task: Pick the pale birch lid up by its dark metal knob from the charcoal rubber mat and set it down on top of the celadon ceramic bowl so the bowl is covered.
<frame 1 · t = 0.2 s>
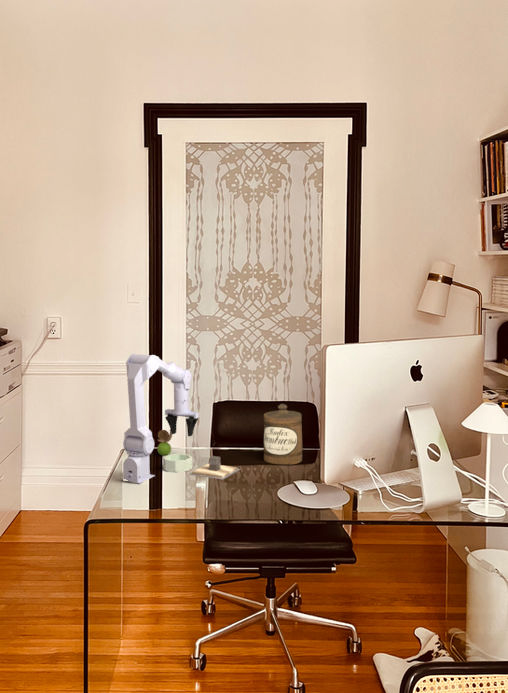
hand: (182, 434, 275), 10 cm above the table, fingers open, 7 cm apart
mat: (214, 473, 258), on the table
snail figurine: (165, 456, 282), on the table
bowl: (177, 469, 263), on the table
wooden container: (282, 460, 275), on the table
lid: (214, 471, 258), resting on mat
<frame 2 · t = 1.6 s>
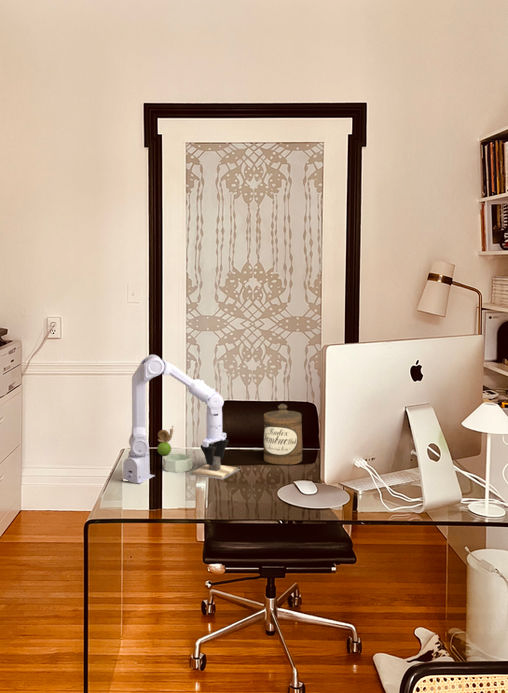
hand: (215, 461, 258), 4 cm above the table, fingers open, 7 cm apart
nothing on the table moved.
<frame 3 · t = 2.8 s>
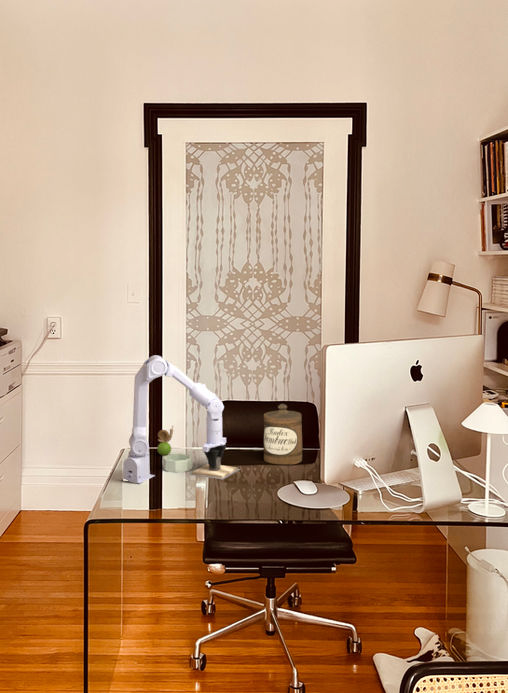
hand: (214, 466, 258), 2 cm above the table, fingers closed on lid, 3 cm apart
lid: (214, 471, 258), resting on mat, touching gripper
everything else where it was.
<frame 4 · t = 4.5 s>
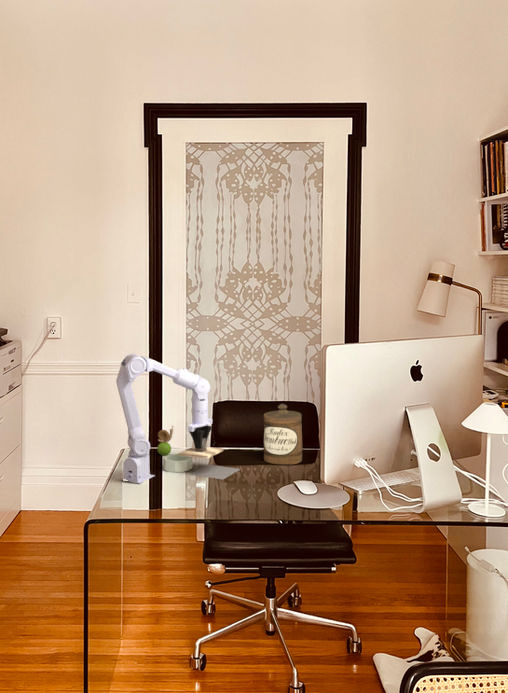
hand: (200, 447, 259), 9 cm above the table, fingers closed on lid, 3 cm apart
lid: (201, 453, 259), point 7 cm above the table, touching gripper
everything else where it was.
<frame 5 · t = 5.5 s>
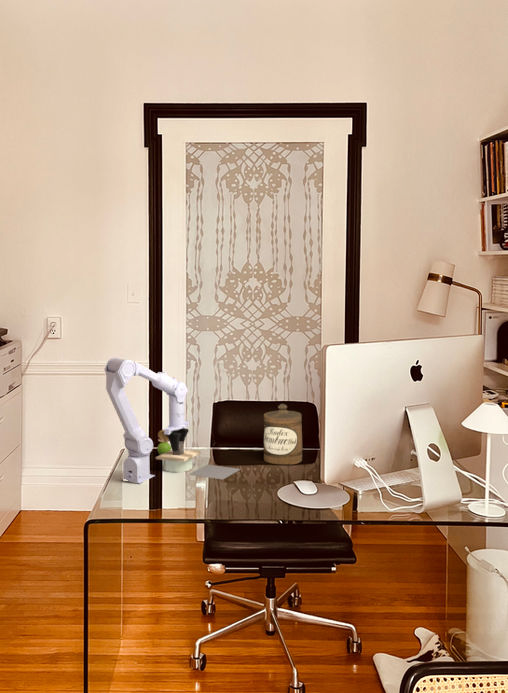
hand: (177, 449, 262), 7 cm above the table, fingers closed on lid, 3 cm apart
lid: (178, 456, 262), point 5 cm above the table, touching gripper
everything else where it was.
when the fingers open (7 cm above the table, at t = 6.1 s): lid stays where it is, resting on bowl.
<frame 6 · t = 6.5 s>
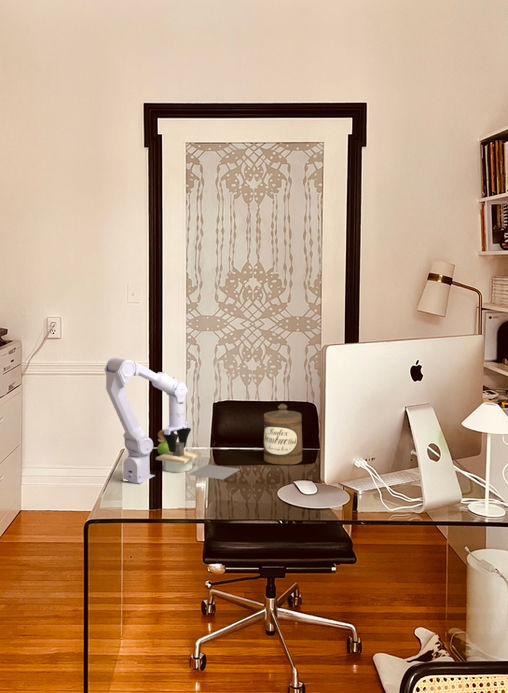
hand: (177, 449, 262), 8 cm above the table, fingers open, 6 cm apart
lid: (178, 457, 262), point 5 cm above the table, touching bowl
everything else where it was.
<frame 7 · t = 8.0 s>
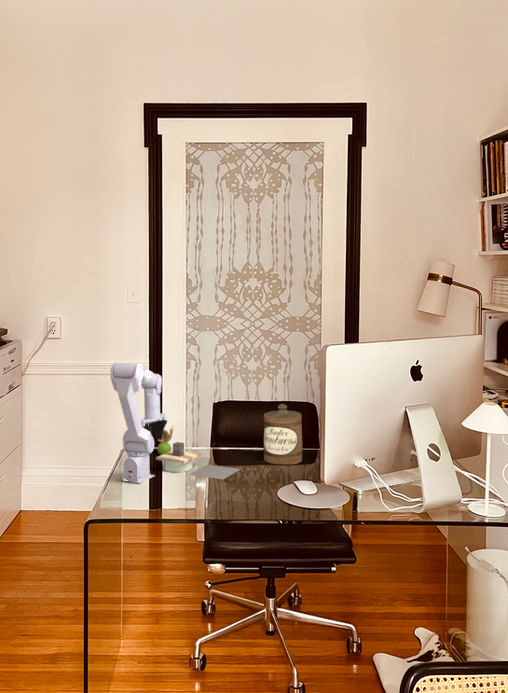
hand: (153, 441, 265), 10 cm above the table, fingers open, 7 cm apart
nothing on the table moved.
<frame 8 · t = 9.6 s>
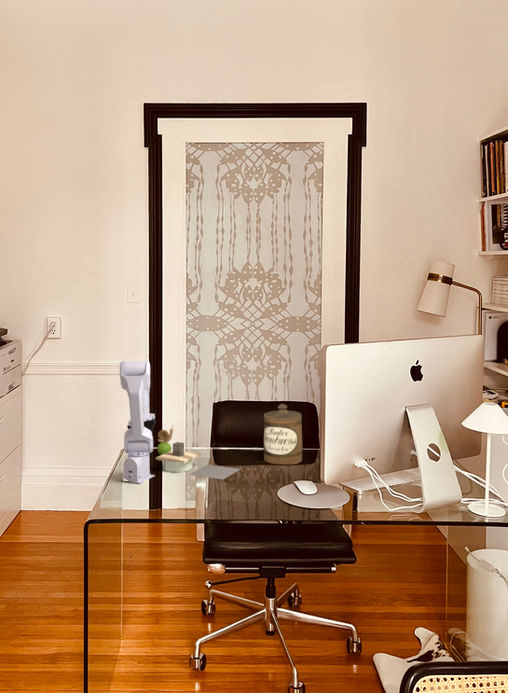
hand: (142, 441, 267), 9 cm above the table, fingers open, 7 cm apart
nothing on the table moved.
at the end: lid 0.4 cm off-centre on the bowl, point 4.6 cm above the bowl's base; lid tilted 0°; the gripper is holding nothing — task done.
